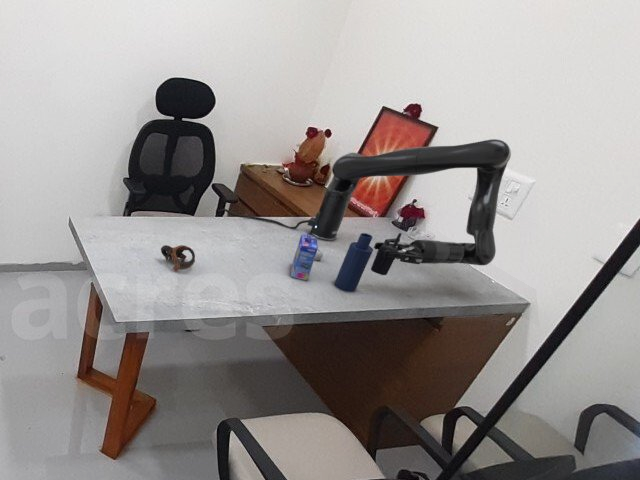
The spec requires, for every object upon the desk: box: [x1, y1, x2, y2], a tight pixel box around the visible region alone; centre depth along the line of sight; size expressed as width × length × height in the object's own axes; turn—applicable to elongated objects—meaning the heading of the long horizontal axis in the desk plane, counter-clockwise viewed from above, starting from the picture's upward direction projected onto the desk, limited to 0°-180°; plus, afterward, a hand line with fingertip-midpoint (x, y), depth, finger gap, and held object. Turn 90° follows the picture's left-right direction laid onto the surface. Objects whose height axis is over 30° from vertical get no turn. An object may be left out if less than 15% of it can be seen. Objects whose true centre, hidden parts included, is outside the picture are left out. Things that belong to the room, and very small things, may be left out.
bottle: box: [334, 232, 374, 293], centre depth 168 cm, size 7×7×19 cm
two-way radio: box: [370, 232, 402, 276], centre depth 166 cm, size 6×4×15 cm
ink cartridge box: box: [290, 231, 319, 281], centre depth 174 cm, size 10×6×14 cm, turn 161°
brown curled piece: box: [160, 244, 196, 272], centre depth 173 cm, size 12×10×8 cm
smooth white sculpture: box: [314, 248, 324, 261], centre depth 189 cm, size 4×8×5 cm
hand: (380, 249), depth 166 cm, fingers closed on two-way radio, 5 cm apart
